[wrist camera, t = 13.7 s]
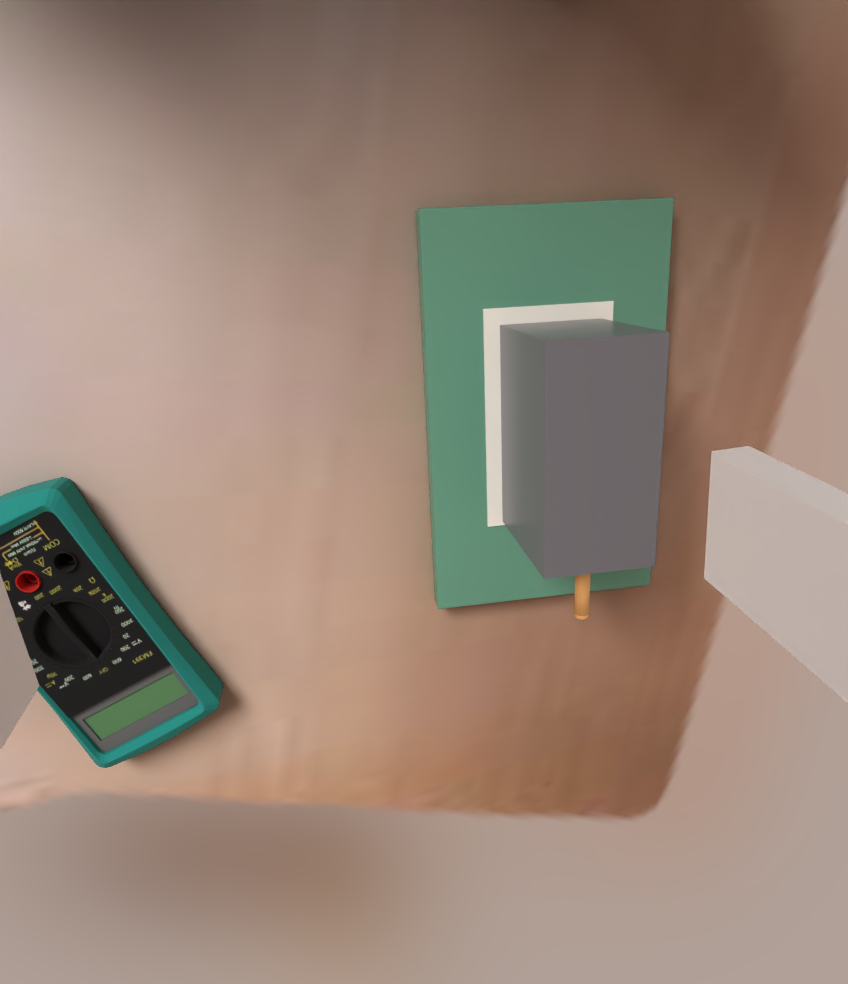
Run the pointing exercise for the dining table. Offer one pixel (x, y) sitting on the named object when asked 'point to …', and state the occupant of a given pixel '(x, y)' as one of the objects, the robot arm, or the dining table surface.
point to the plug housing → (583, 445)
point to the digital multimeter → (96, 629)
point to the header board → (476, 358)
